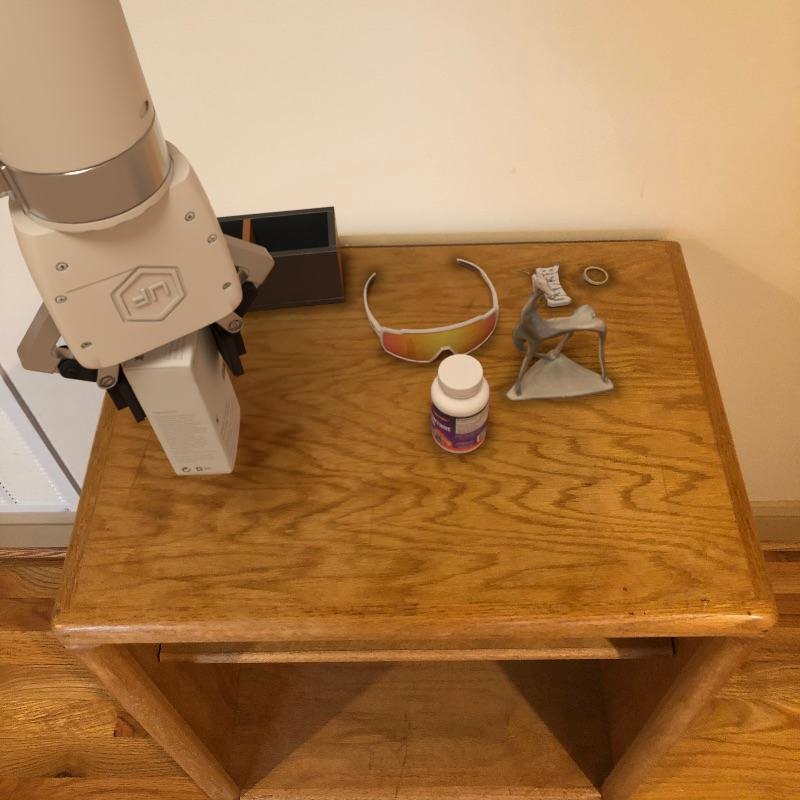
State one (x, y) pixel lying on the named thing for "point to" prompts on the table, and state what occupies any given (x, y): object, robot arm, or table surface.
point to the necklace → (553, 286)
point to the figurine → (555, 351)
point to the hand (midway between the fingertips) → (183, 382)
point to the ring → (594, 281)
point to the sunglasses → (437, 332)
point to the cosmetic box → (189, 403)
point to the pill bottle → (459, 404)
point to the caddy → (293, 255)
